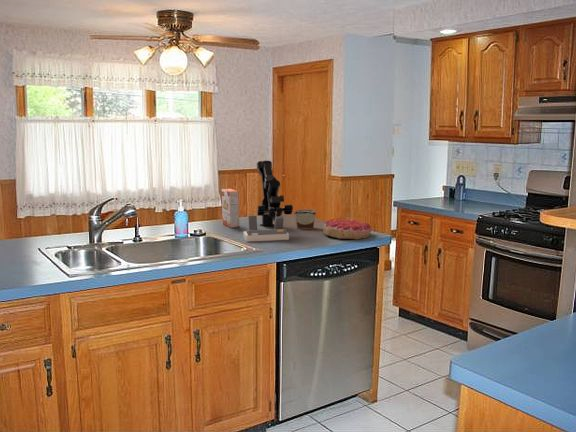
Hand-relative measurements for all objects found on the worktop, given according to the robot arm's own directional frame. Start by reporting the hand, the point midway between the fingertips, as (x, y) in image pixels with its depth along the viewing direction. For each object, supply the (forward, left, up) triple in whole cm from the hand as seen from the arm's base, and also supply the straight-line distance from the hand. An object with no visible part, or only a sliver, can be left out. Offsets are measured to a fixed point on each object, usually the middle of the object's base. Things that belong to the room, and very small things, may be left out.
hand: (276, 223), depth 286 cm
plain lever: (-2, -13, -4) cm, 14 cm away
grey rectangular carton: (+3, -2, -4) cm, 5 cm away
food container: (-10, +27, -7) cm, 30 cm away
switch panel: (+1, -8, -7) cm, 10 cm away
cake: (+20, +31, -7) cm, 38 cm away
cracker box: (-41, -4, -7) cm, 42 cm away
